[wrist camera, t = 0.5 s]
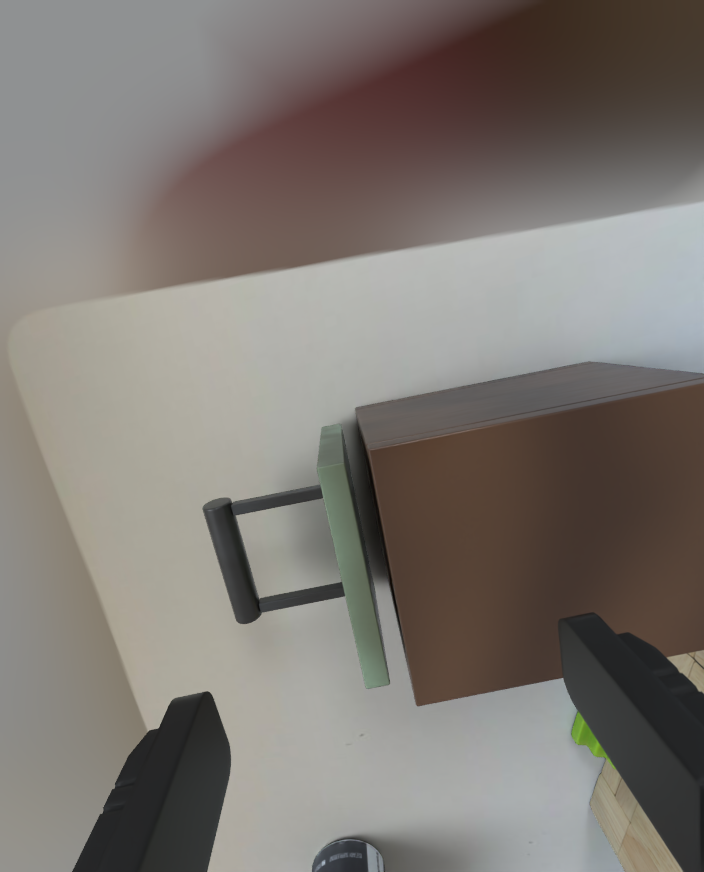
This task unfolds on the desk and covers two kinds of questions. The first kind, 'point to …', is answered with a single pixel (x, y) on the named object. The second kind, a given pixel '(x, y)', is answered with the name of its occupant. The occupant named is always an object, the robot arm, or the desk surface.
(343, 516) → the drawer
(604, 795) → the block set
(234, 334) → the desk surface
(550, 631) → the cabinet
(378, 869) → the pill bottle
